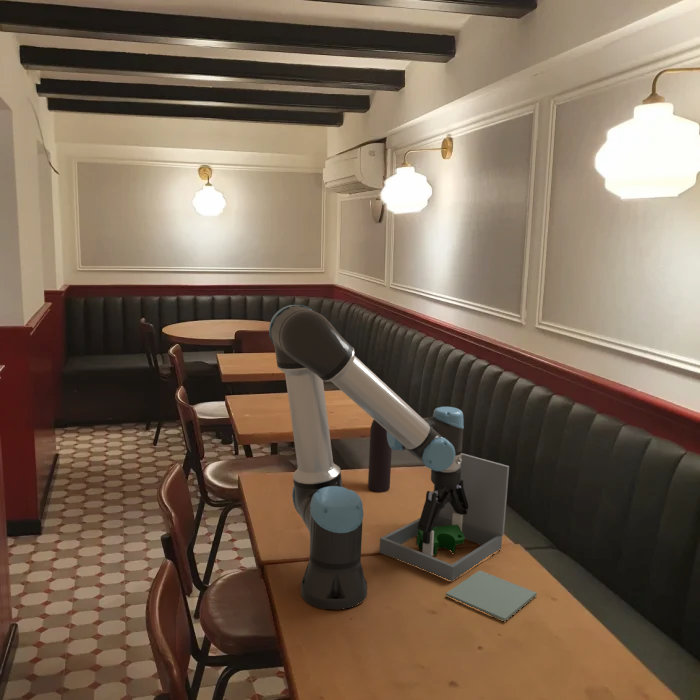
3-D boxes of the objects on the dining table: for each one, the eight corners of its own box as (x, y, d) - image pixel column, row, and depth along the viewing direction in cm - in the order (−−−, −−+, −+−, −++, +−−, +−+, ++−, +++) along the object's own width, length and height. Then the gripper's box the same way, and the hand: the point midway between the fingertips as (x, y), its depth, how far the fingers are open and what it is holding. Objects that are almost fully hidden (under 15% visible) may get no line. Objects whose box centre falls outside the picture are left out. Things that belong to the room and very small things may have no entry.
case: (451, 582, 164) (457, 491, 160) (379, 552, 178) (383, 467, 174) (502, 549, 182) (509, 466, 178) (433, 524, 196) (438, 446, 192)
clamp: (428, 570, 178) (420, 546, 174) (420, 555, 184) (412, 531, 179) (470, 551, 180) (463, 527, 175) (461, 537, 185) (454, 512, 180)
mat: (504, 623, 147) (505, 618, 147) (445, 597, 157) (445, 593, 157) (536, 596, 159) (536, 592, 159) (479, 574, 168) (479, 570, 168)
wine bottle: (390, 485, 225) (394, 396, 220) (389, 493, 218) (393, 401, 213) (368, 483, 226) (372, 394, 220) (367, 491, 219) (370, 400, 213)
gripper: (430, 484, 164) (427, 567, 168) (483, 459, 183) (479, 534, 186) (405, 476, 169) (402, 557, 172) (459, 452, 187) (456, 526, 191)
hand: (442, 545), depth 179 cm, fingers open, 13 cm apart
